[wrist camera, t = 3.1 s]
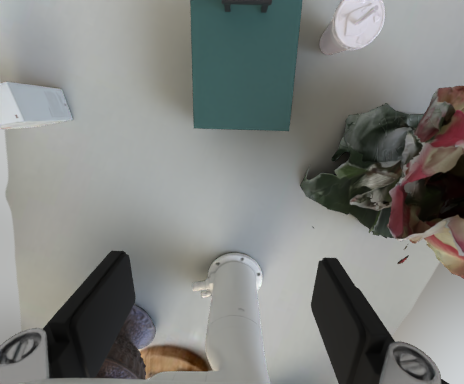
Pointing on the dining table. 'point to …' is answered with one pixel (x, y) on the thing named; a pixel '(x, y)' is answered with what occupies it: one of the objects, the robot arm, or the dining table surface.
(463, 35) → the dining table surface
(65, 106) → the small box
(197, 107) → the bin lid
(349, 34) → the smoothie
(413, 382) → the robot arm
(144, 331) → the decorative urn
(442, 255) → the rose bouquet
